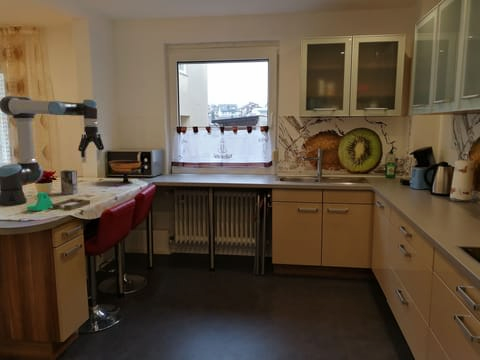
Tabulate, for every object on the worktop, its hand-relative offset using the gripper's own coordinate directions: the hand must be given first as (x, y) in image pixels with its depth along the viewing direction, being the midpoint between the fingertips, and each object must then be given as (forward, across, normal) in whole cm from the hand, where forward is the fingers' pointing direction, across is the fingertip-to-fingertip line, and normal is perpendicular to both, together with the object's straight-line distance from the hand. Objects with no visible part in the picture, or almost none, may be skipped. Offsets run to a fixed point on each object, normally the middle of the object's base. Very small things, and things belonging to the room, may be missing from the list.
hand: (92, 161), depth 225 cm
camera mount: (+28, -21, +20) cm, 40 cm away
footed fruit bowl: (+27, +78, +30) cm, 88 cm away
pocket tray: (+27, -7, +10) cm, 30 cm away
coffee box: (+27, +23, +38) cm, 53 cm away
